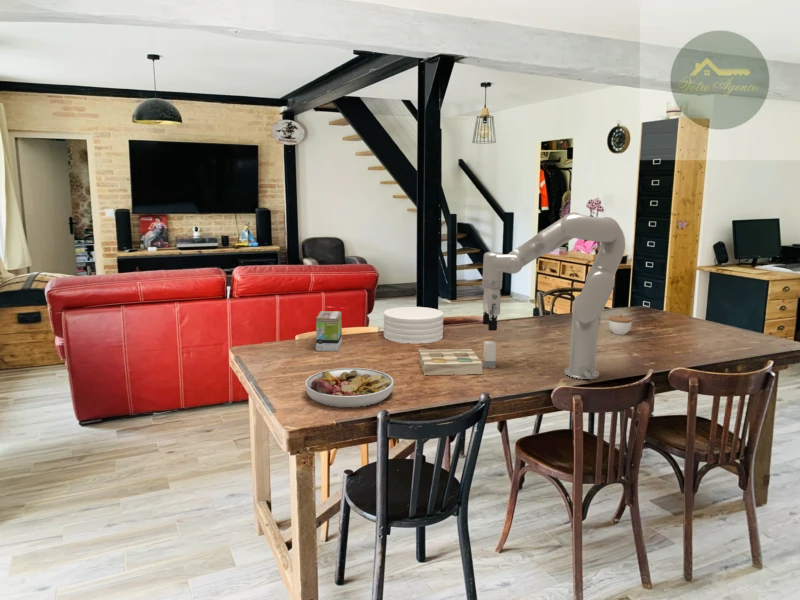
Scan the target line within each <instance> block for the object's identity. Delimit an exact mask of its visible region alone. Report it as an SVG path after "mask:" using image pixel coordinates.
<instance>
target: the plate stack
mask: <svg viewBox="0 0 800 600" xmlns="http://www.w3.org/2000/svg"><path fill="white" fill-rule="evenodd" d="M443 332H444V312H443V311H442V310H439V309H437V308H432V307H426V306H425V307H424V306H423V307H422V306H400V307H392V308H388V309H386V310H384V311H383V338H384V337H385V338H384V339H385V340H387V339H388V341H390V340H391V341H390V342H393V341H394V342H393V343H398V342H399V343H400V344H407V343H410V344H412V345H415V344H417V345H420V343H421V345H422V343H423V344H431V343H436V342H438V341H441V340H442V339H443V337H444V334H443Z"/></svg>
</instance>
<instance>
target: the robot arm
mask: <svg viewBox="0 0 800 600" xmlns="http://www.w3.org/2000/svg"><path fill="white" fill-rule="evenodd" d="M573 239H577V240H578V239H579V240H584V241H591V242H598V243H600V246H599V250H598V252H597V254H596V256H595V259H594V261H593V263H592V265H591V267H590V268H589V271H588V272H587V274H586V277H585V283H584V285H583V287H582V289H581V291H580V293H579V294H578V295H577V296H575V298H574V299H573V302H572V317H571V318H572V319H571V332H570V333H571V334H570V348H569V349H570V350H569V364H568V365H569V366H568V367H566V368H565V369H564V375H565V376H567V375H568V376H567V377H569V376H570V378H572V377H573V378H572V379H576V378H577V379H576V380H583V379H590V380H595V379H598V378H599V377H600V372H599V371H598V370H596V365H597V364H596V363H597V349H598V336H599V320H600V316H601V315H602V313H603V311H604V309H605V308H606V304H607V303H608V301H609V298H610V297H611V295H612V293H613V290H614V287H615V279H614V277H615V275H616V272H617V271H618V269H619V266H620V264H621V262H622V259H623V257H624V254H625V250H626V238H625V234H624V232H623V229H622V228H621V226H620V225H619V223H618V221H616V219H614V218H612V217H609V216H605V217H598V216H591V215H590V216H589V215H585V214H580V213H579V212H570V213H567V214H566V215H564V216H563V217H561V218H560V219H558V220H557V221H555V222H553V223H552V224H550V225H549V226H547V227H546V228H544V229H542V230H541V231H539V232H538V233H537V234H535V235H534V236H532V237H531V239H529V240H527V241H526V242H524V243H523V244H521V245H519V246H518V247H516V248H515V249H513V250H512V251H510V252H508V254H506V253H505V254H504V253H502V252H499V251H498V252H497V251H487V252H484V254H483V263H482V279H481V280H482V283H481V288H482V289H483V297H482V299H483V300H482V310H483V314H482V324H483V325H485V326H486V325H488V327H487V330H488V331H494V332H495V331H497V330H498V315H500V314H501V290H502V287H503V276H504V275H503V273H507V274H510V275H511V274H513V275H514V274H517V273H519V272H520V271H521V270H522V269H523V267H525V266H526V265H528V264H530V263H531V262H532V261H534V260H536V259H538V258H540V257H541V256H544V255H547V254H550V253H552V252H554V251H555V250H557V249H559V248H560V247H562V246H563V245H565V244H566V243H568V242H569V241H571V240H573Z"/></svg>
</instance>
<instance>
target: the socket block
mask: <svg viewBox="0 0 800 600" xmlns="http://www.w3.org/2000/svg"><path fill="white" fill-rule="evenodd" d="M419 362H420V363H419ZM418 363H419V366H420V365H421V366H420V367H422V368H421V371H422V370H423V371H422V373H423V372H424V373H423V376H424V375H442V374H446V375H447V374H448V375H449V374H482V375H483V361H482V360H481V359H480V358H479V356H477V354H476V353H475V351H474V350H473V349H472V348H462V349H461V348H458V349H457V348H455V349H449V348H448V349H446V348H445V349H418Z"/></svg>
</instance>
